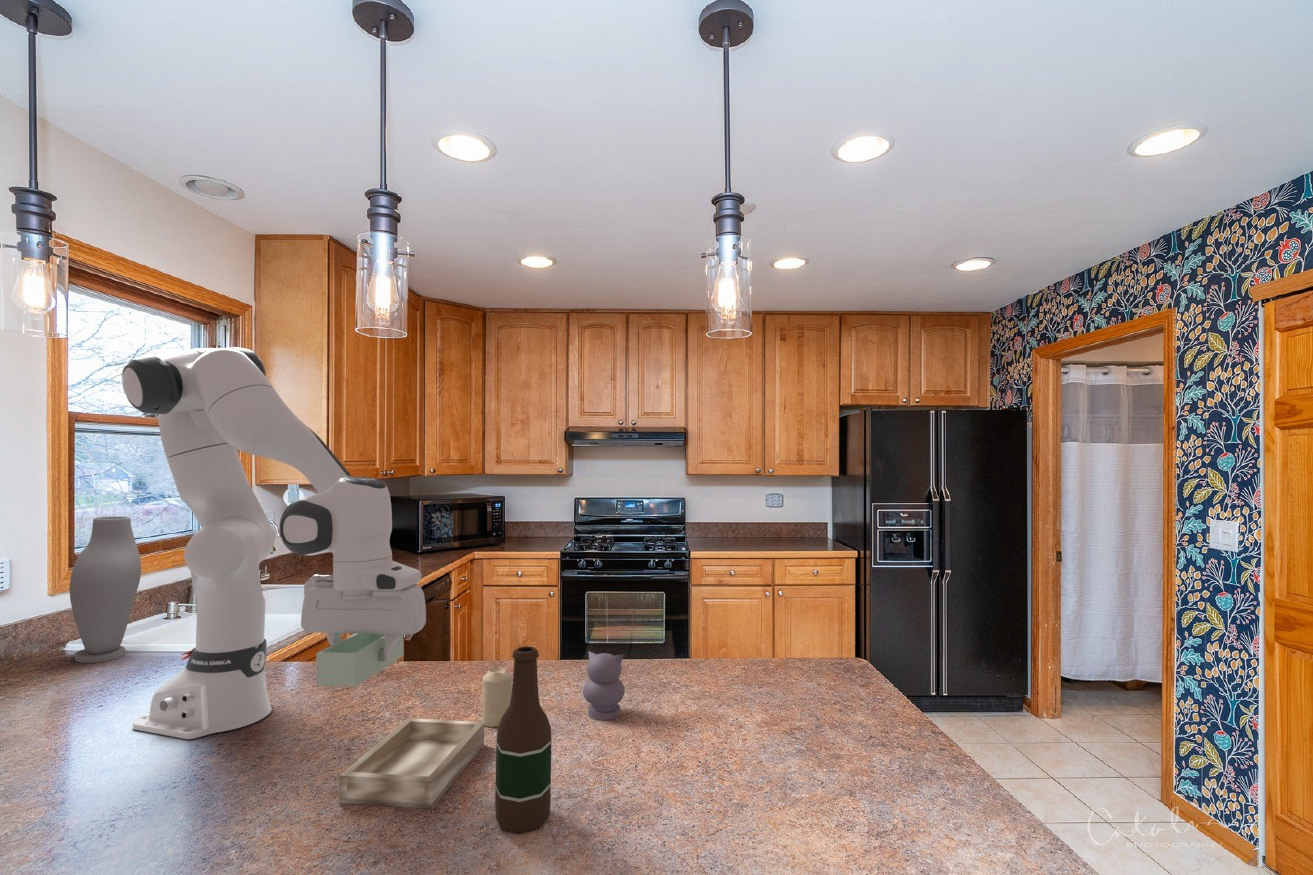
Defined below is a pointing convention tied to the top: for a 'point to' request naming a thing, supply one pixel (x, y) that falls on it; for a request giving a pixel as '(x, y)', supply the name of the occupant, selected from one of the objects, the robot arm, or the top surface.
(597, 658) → the cat figurine
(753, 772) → the top surface
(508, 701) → the candle
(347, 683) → the green crate
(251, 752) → the top surface
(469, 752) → the box
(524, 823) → the beer bottle
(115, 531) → the vase
